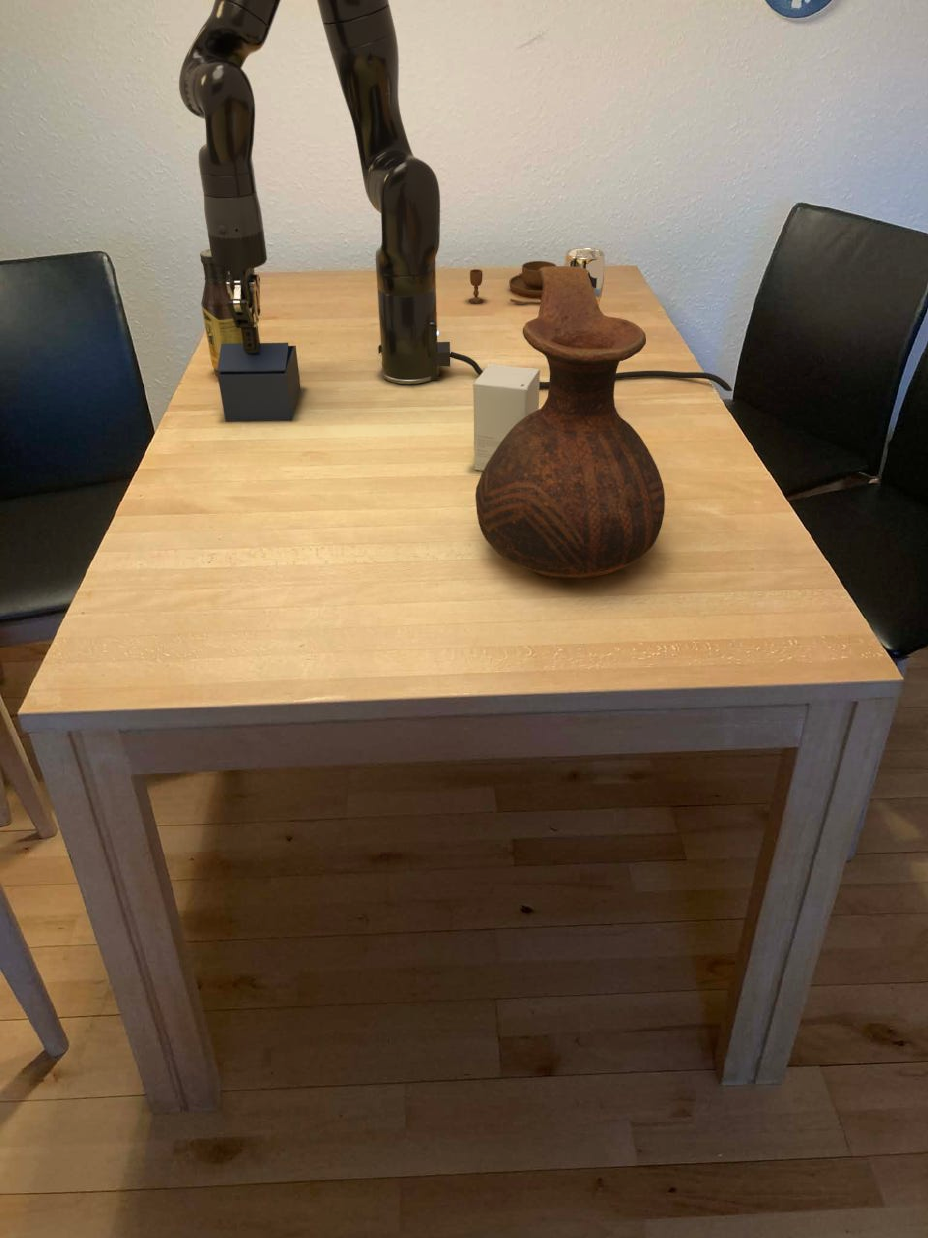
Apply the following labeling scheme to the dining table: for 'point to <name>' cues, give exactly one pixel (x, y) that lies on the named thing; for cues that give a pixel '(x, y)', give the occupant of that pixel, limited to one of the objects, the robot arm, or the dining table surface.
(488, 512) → the jug
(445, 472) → the dining table surface
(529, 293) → the place setting
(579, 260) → the beer glass
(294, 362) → the carton
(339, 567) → the dining table surface
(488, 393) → the white packaging box
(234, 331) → the sauce bottle
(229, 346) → the flap
